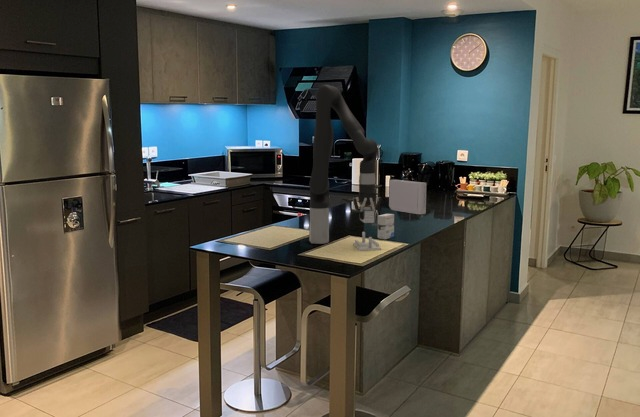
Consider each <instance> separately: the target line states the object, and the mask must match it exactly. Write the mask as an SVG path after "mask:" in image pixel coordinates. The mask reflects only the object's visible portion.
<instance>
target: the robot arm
mask: <svg viewBox="0 0 640 417" xmlns="http://www.w3.org/2000/svg"><path fill="white" fill-rule="evenodd" d="M315 95H316V97H315V99H316V100H315V108H316V109H315V110H316V111H315V124H314V133H313V144H312V145H313V146H312V148H313V149H312V154H313V155H312V159H313V160H312V170H311V176H310V180H309V183H308V184H309V223H308V224H309V225H308V227H309V228H308V229H309V230H308V232H309V235H308V236H309V237H308V238H309V243H311V244H315V245H318V244H319V245H320V244H321V245H322V244H327V243H328V244H329V242H330V206H329V205H330V181H329V164H330V159H331V156H332V152H333V146H334V127H333V125H332V121H331V120H332V119H331V112H332V111H331V109H333V110H334V111H335V113H336V114H337V115H338V118H339V120H340V123H341V125H342V127H343V129H344V131H345V132H346V133H347V134H348V136H349V137H350V139H351V140H352V143H353V146H354V147H355V149H356V151H357V152H358V154H361V155H362V156H363V158H362V160H360V162H359V175H358V196H357V197H352V202H353V206H354V209H355V210H356V211H357V212H358V214H359V215H358V217H359V218H358V219H359V220H360V219H361V220H363V212H362V211H363V208H364V206H365V205H367V204H368V205H370V207H371V208H372V209H374V219H375V217H376V211H379V210H380V206H381V204H382V200H383V199H382V196H381V197H380V196H377V194H376V165H375V164H376V161H377V157H378V152H379V151H378V150H379V149H378V148H379V147H378V144H377V141H376V140H374V139H371V138H370V139H369V138H366V137H365V136H366V135H365V134H366V133H365V129H364V127H362V125H361V124H360V122H359V120H357V118H356V117H355V115H354V114H353V112H352V111H351V110H350V108H349V106H348V105H347V103H346V101H345V99H344V96H343V95H342V93H341V91H340V90H339V88H338V87H336V86H334V85H329V84H322V85H320V86H319V87H318V89H317V90H316V94H315ZM358 200H360V201H361V204H359V202H358ZM375 201H376V205H375ZM373 202H374V203H373ZM358 204H359V205H358ZM363 204H364V205H363ZM358 206H359V207H360V208H359V207H358ZM361 220H360V221H361Z"/></svg>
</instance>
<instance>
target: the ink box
mask: <svg viewBox="0 0 640 417" xmlns="http://www.w3.org/2000/svg"><path fill="white" fill-rule="evenodd" d="M394 237H395V214H394V213H384V214H380V215H379V214H378V215H377V239H381V240H388V239H391V238H394Z"/></svg>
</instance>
